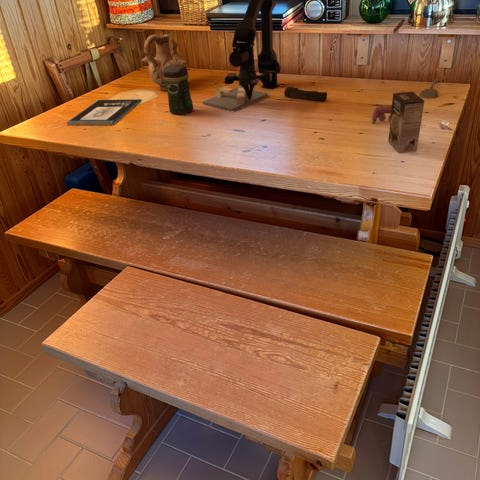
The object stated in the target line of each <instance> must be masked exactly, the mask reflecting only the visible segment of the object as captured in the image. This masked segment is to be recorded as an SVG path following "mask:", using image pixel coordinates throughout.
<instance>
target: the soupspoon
mask: <svg viewBox="0 0 480 480" xmlns="http://www.w3.org/2000/svg"><path fill="white" fill-rule="evenodd" d="M437 83H439V79H438V78H435V79H434V80H433V82H432V84H431V86H430V88H425V89H422V90H421V91H420V93H419V95H420V96H419V97H420V98H421V99H426V100H427V99H428V100H429V99H430V100H431V99H436V98H437V97H438V94H439V91H438V90H437V89H434V85H435V84H437Z"/></svg>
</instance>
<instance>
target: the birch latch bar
mask: <svg viewBox="0 0 480 480" xmlns="http://www.w3.org/2000/svg"><path fill="white" fill-rule="evenodd" d="M237 87H238V93H237V103H245V97H246V92H245V90H244V88H243V87H242V86H239V85H238V86H237Z"/></svg>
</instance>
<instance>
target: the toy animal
mask: <svg viewBox="0 0 480 480" xmlns="http://www.w3.org/2000/svg"><path fill="white" fill-rule="evenodd" d="M391 110H392V104H382V105H378V106H376V107H375V108H374V109H373V112H372V119H371V120H372V121H371V122H372V124H373V125H375V124H376V123H377V120H379V121H380V122H384V121H386V115H385V114H389V115H388V118H387V120H388V121H389V122H390V120H391Z"/></svg>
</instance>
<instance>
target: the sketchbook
mask: <svg viewBox="0 0 480 480" xmlns="http://www.w3.org/2000/svg"><path fill="white" fill-rule="evenodd" d="M141 102H142V99H140V98H136V99H134V98H133V99H130V98H129V99H97V101H95V102H93V103H92V104H91V105H89V106H88V107H87V108H84V109H83V110H82V111H81V112H79V113H78V114H76V115H75V116H74V117H73V118H70V119H69V120H68V121H67V122H66V125H67V126H114V125H116V124H118V122H119V121H120V120H122V119H123V118H124V117H125V116H126V115H127V114H128V113H130V112H131V111H132V110H133V109H135V107H137V105H139V104H140V103H141Z"/></svg>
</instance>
